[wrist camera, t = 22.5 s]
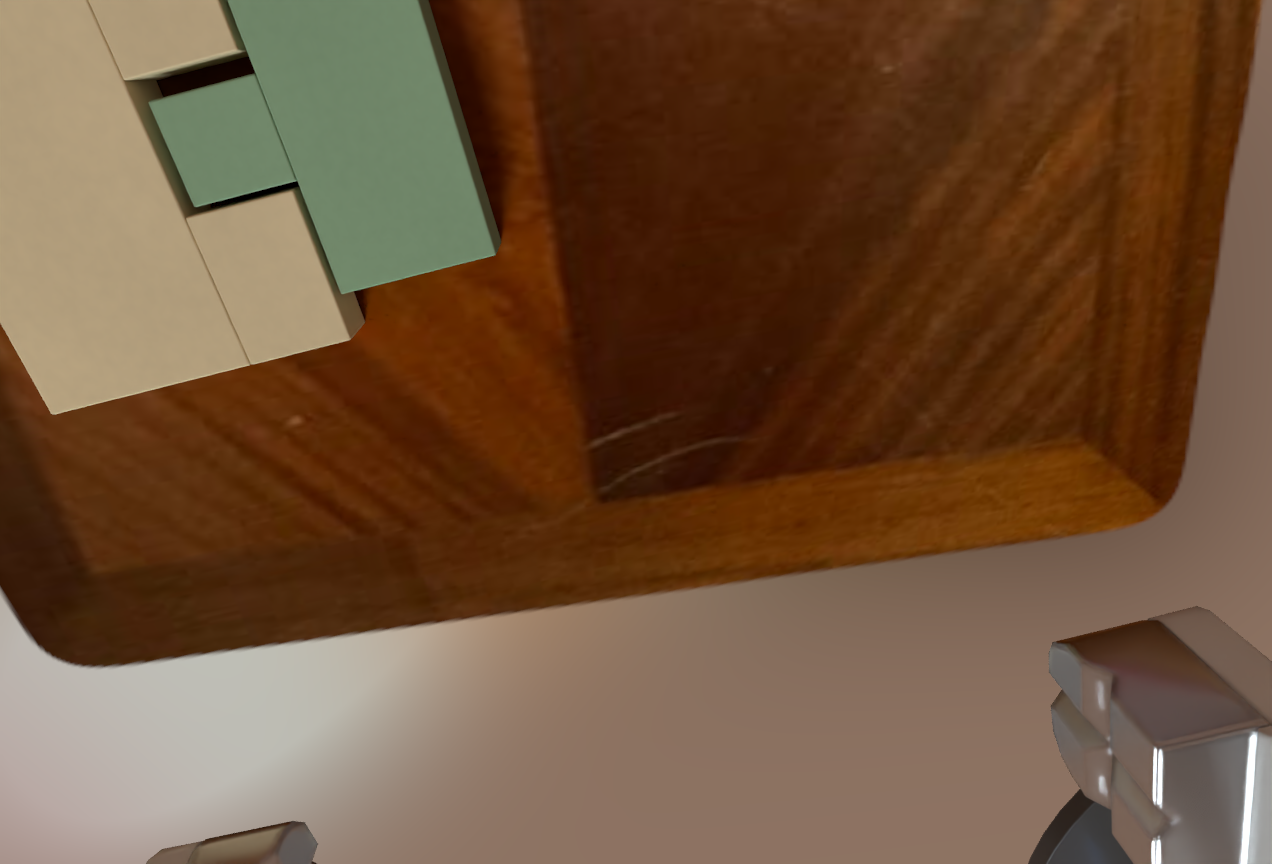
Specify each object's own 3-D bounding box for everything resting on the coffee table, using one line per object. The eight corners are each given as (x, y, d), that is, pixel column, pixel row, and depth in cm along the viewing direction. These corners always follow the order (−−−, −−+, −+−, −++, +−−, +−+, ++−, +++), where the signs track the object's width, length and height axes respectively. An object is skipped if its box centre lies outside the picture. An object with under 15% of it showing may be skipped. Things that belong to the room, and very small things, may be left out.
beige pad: (366, 322, 34) (351, 340, 32) (85, 393, 35) (51, 415, 32) (194, -131, 28) (160, -149, 26) (-147, -38, 28) (-210, -49, 26)
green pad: (501, 243, 33) (496, 255, 31) (265, 303, 34) (243, 319, 31) (397, -102, 29) (382, -117, 26) (124, -28, 29) (85, -37, 27)
